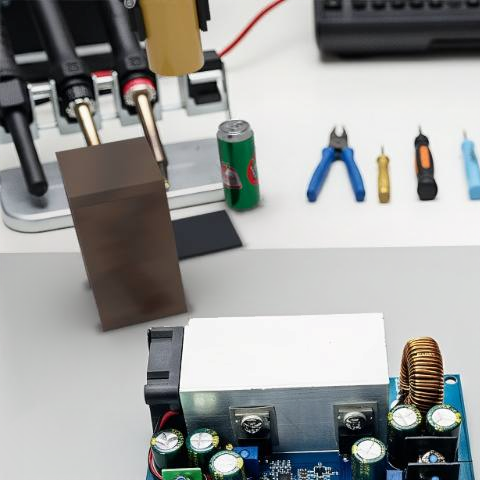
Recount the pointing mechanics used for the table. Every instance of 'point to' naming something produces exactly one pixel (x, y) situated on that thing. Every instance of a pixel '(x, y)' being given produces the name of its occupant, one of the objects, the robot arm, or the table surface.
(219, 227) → the mat
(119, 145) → the tall brown wooden block
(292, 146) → the table surface
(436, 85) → the table surface
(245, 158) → the soda can
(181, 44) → the cup
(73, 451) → the table surface
